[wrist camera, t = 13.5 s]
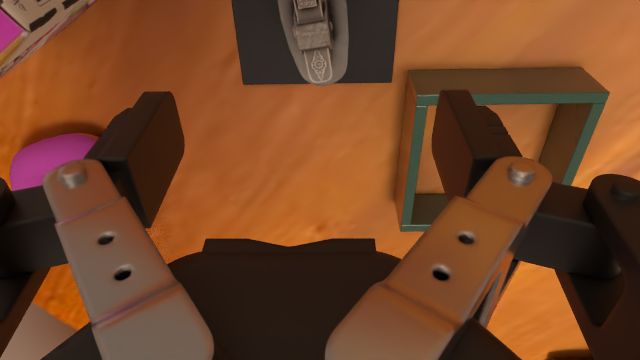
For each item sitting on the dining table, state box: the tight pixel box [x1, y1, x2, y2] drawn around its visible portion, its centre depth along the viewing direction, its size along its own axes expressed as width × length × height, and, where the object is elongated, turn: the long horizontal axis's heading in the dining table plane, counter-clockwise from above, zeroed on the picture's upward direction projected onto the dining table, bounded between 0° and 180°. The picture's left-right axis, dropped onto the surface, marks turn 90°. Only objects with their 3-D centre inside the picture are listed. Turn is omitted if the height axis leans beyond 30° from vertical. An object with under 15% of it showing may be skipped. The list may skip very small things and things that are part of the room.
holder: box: [394, 68, 610, 232], centre depth 34 cm, size 13×13×4 cm
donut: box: [10, 133, 99, 191], centre depth 37 cm, size 10×10×5 cm
